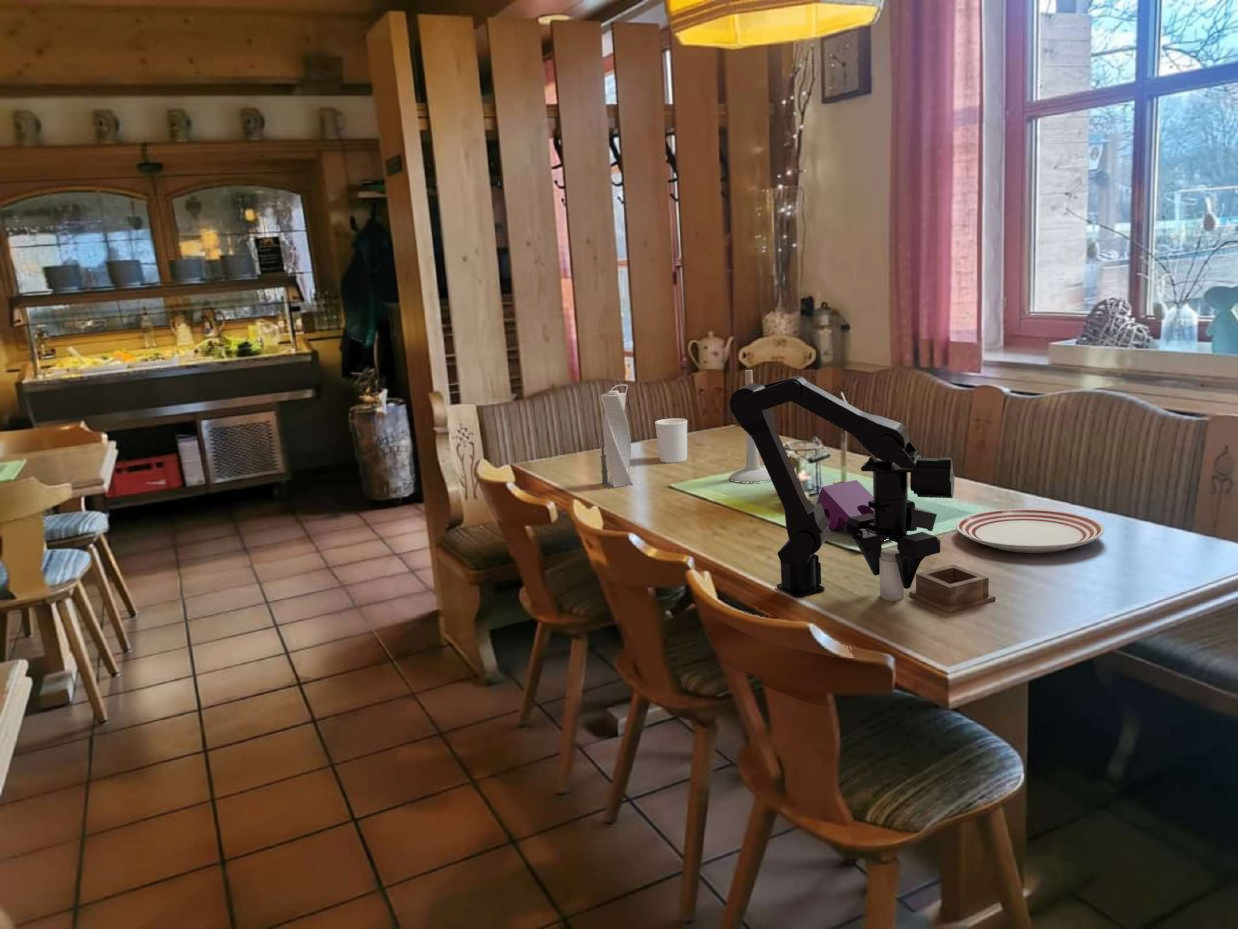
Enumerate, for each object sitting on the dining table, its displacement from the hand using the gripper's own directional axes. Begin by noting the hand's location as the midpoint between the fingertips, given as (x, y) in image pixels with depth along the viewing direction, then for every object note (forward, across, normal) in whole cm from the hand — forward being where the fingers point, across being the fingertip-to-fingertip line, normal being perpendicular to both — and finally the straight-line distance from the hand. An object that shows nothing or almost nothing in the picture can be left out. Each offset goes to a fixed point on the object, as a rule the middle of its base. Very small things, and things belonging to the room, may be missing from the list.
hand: (891, 581), depth 165 cm
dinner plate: (+3, +10, -42) cm, 43 cm away
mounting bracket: (+3, +34, -19) cm, 39 cm away
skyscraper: (+3, +108, +6) cm, 108 cm away
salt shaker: (+3, 0, 0) cm, 3 cm away
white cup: (+3, +125, -19) cm, 126 cm away
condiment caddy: (+3, -6, -8) cm, 10 cm away
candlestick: (+3, +90, -26) cm, 94 cm away
